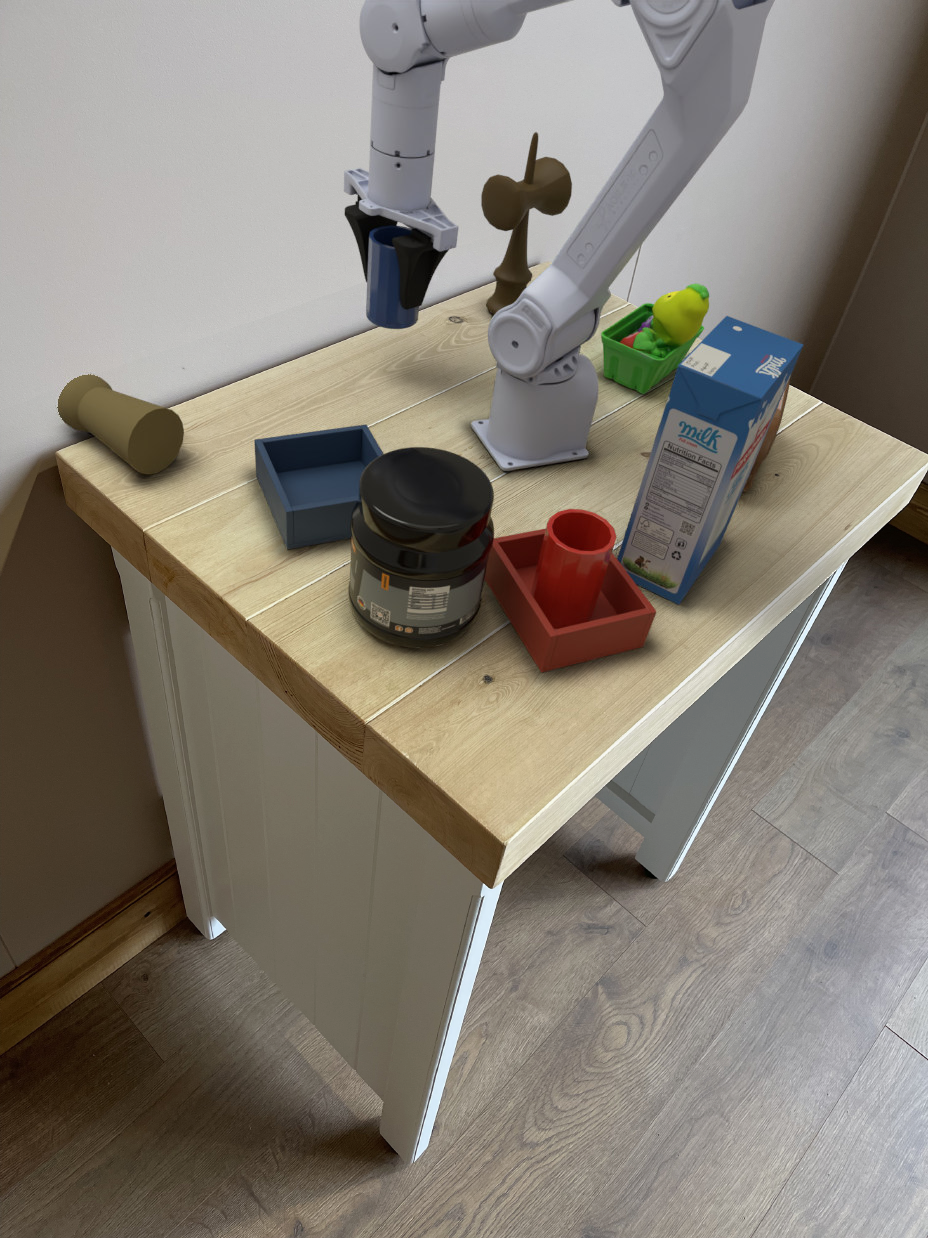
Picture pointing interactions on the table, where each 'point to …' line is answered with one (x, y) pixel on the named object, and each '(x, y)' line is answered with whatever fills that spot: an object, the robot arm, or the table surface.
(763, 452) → the tin
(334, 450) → the blue bin
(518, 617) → the red bin
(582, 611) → the red cup
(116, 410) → the olive brown flared cylinder
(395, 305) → the blue cup
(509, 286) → the kendama
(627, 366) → the fruit basket
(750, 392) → the milk carton
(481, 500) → the supplement container
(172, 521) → the table surface
